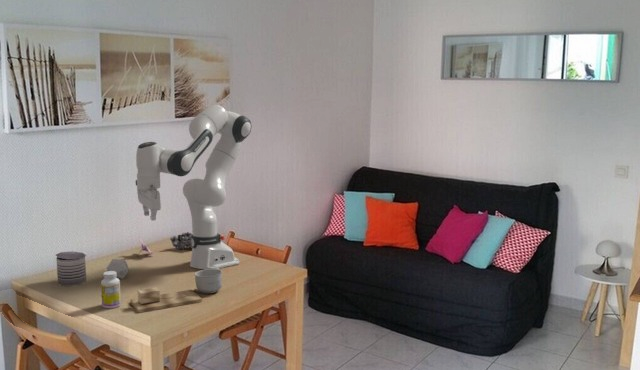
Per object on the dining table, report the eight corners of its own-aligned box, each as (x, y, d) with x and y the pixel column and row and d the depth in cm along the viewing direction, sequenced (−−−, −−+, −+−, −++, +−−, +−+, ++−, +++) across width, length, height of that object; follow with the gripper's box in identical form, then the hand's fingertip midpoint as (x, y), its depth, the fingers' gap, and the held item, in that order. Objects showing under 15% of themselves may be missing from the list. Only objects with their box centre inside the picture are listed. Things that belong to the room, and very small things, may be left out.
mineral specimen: (166, 242, 310) (179, 224, 311) (175, 244, 320) (187, 227, 320) (186, 258, 307) (199, 239, 307) (194, 259, 316) (207, 241, 317)
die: (116, 283, 264) (130, 263, 265) (99, 272, 264) (113, 252, 266) (122, 284, 272) (135, 265, 273) (106, 273, 273) (119, 254, 274)
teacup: (209, 297, 247) (209, 277, 245) (189, 292, 252) (188, 273, 251) (232, 287, 258) (232, 269, 257) (212, 283, 264) (212, 264, 262)
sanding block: (156, 298, 241) (156, 287, 240) (159, 301, 238) (159, 290, 237) (138, 301, 237) (137, 290, 237) (141, 305, 234) (140, 293, 233)
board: (191, 292, 252) (191, 289, 252) (201, 301, 242) (201, 298, 242) (130, 302, 240) (130, 299, 240) (138, 312, 230) (138, 309, 230)
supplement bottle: (104, 302, 240) (103, 270, 237) (122, 302, 240) (121, 269, 238) (100, 309, 233) (98, 275, 231) (118, 308, 234) (117, 275, 231)
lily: (146, 262, 295) (155, 245, 296) (125, 252, 296) (134, 235, 297) (152, 262, 306) (161, 246, 307) (133, 253, 306) (141, 236, 308)
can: (65, 277, 269) (63, 249, 267) (91, 277, 268) (89, 250, 266) (52, 285, 258) (50, 257, 256) (79, 286, 257) (78, 258, 255)
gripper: (164, 187, 243) (165, 222, 245) (149, 179, 260) (150, 212, 262) (147, 188, 239) (149, 223, 242) (134, 180, 257) (135, 213, 259)
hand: (149, 217), depth 252 cm, fingers open, 8 cm apart
